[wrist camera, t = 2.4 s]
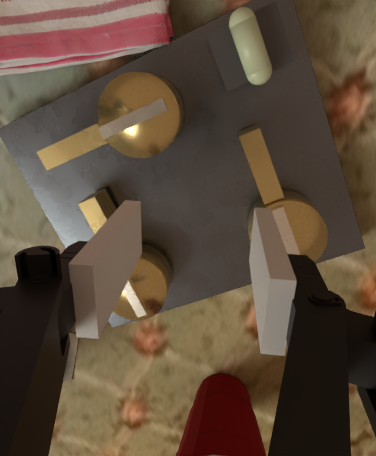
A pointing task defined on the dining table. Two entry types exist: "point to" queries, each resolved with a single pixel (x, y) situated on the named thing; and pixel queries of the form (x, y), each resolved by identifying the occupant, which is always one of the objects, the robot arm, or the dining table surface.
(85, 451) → the dining table surface
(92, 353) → the dining table surface
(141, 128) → the knob
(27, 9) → the dish towel
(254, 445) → the plastic cup
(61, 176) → the levelling plate
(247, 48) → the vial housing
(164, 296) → the knob
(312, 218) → the knob
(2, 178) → the dining table surface
